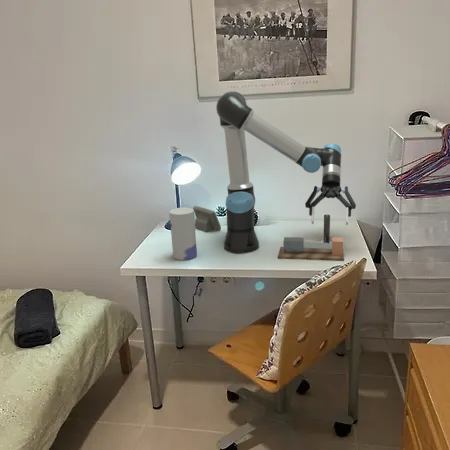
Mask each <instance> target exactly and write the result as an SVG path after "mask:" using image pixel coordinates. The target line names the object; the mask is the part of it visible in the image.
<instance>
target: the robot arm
mask: <svg viewBox="0 0 450 450" xmlns="http://www.w3.org/2000/svg"><path fill="white" fill-rule="evenodd" d="M215 107H216V114H217V115H218V117H219V125H220V127H221V128H222V129H223V130H224V137H225V147H226V156H227V165H228V176H229V184H228V186H227V187H226V188H227V189H226V191H227V196H226V198H225V208H226V209H225V210H226V229H227V230H226V235H225V238H224V241H223V249H224V250H225V251H226V252H228V253H233V254H248V253H253V252H255V251H256V250H258V249H259V248H260V242H259V239H258V236H257V234H256V231H255V205H256V196H255V192H254V184H253V182H251V181H250V174H249V164H248V153H247V152H248V151H247V143H246V132H247V133H248V134H250V135H252V136H253V137H255V138H256V139H258V140H259V141H260V142H263V143H264V144H266V145H267V146H269V147H271V148H272V149H273V150H274V151H277V152H278V153H280V154H281V155H283V156H284V157H286V158H288V159H289V160H290V161H292V162H294V163H295V164H296V165H298V166H300V167H302V169H303V170H304V171H305V172H307V173H311V174H313V173H316V172H318V171H319V170H320V169H321V167H322V175H321V177H322V179H321V187H318V186H317V185H314V186H313V191H312V192H311V194H310V195H309V197H308V199H307V200H306V201H305V203H304V204H305V208H308V214H309V215H308V216H311V225H314V223H315V222H314V221H315V218H314V217H315V207H316V206H317V205H318V204H319V203H320V202H321V201H323V200H324V199H325V198H327V199H330V198H331V199H335V198H336V199H337V200H339V201H340V202H341V204H342V205H343V206H344V207H345V208H346V209H345V210H346V211H345V226H346V225H347V226H348V225H349V217H350V218H351V216H352V210H355V209H356V207H357V205H356V204H357V203H355V200H354V199H353V197H352V195H351V194H350V192H349V187H348V186H346V185H345V187H341V176H342V175H341V172H342V170H341V169H342V166H341V164H342V149H341V147H340V145H338V144H336V143H333V142H332V143H327V144H325V145H324V146H323V148H322V147H321V148H319V147H310V146H305V145H303V144H302V143H300V142H299V141H297V140H295V138H293V137H291V136H289V134H286V133H285V132H283V131H282V130H281V129H279V128H277V127H276V126H274V125H273V124H271V123H270V122H268V121H266V120H265V119H264V118H262V117H260V116H259V115H257V114H256V113H254V109H253V108H252V107H250V106H249V105H247V100H246V98H245V97H244V96H243V94H241V93H240V92H237V91H235V90H234V91H227V92H225V93H223V95H221V96H220V97H219V99H218V100H217V101H216V106H215ZM319 192H320V194H319ZM341 192H342V193H343V194H345V197H344V196H343V195H342V193H341ZM317 194H319V195H318V196H317ZM316 196H317V197H316ZM345 198H346V199H345ZM347 200H348V201H347Z"/></svg>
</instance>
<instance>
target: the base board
mask: <svg viewBox="0 0 450 450" xmlns="http://www.w3.org/2000/svg"><path fill="white" fill-rule="evenodd" d="M344 256H345V255H344V253H343V256H340V255H332V249H320V248H304V249H303V251H301V254H294V253H286V250H284V246H280V248H279V250H278V254H277V259H279V260H305V259H306V260H307V261H308V260H309V261H333V262H334V261H339V262H344V260H345V258H344Z"/></svg>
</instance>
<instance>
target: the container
mask: <svg viewBox="0 0 450 450" xmlns="http://www.w3.org/2000/svg"><path fill="white" fill-rule="evenodd" d="M195 219H196V218H195V212H194V209H193V208H192V207H184V206H183V207H176V208H172V209H170V210H169V223H170V234H171V245H172V246H171V247H172V256H173V259H175V260H179V261H188V260H193V259H195V258H196V257H197V255H198V250H197V237H196V235H197V233H196V228H195Z"/></svg>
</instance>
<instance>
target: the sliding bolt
mask: <svg viewBox="0 0 450 450" xmlns="http://www.w3.org/2000/svg"><path fill="white" fill-rule="evenodd" d="M330 233H331V214H324V215H323V240H305V239H304V241H303V248H320V249H332V240H330V236H331V234H330Z"/></svg>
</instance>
